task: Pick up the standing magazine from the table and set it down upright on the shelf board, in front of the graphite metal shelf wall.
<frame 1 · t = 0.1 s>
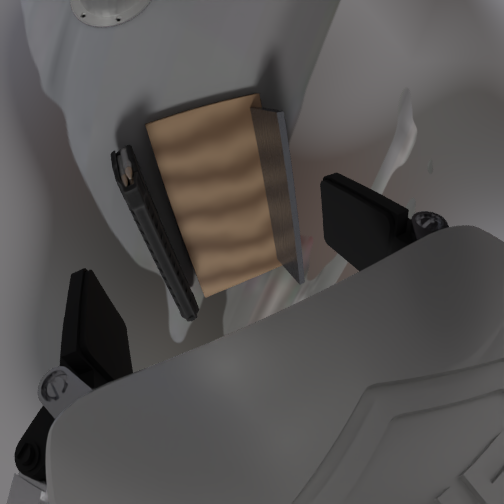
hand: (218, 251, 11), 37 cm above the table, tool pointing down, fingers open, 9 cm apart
shelf board: (225, 201, 51), on the table
magazine: (154, 228, 48), on the table
shelf wall: (264, 188, 53), resting on shelf board
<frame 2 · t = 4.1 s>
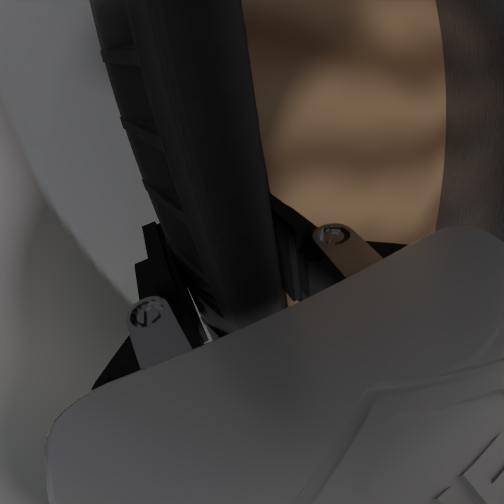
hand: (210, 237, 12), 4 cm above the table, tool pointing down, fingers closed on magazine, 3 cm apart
shelf board: (375, 142, 18), on the table
magazine: (189, 205, 16), on the table, touching gripper
shelf wall: (434, 129, 20), resting on shelf board
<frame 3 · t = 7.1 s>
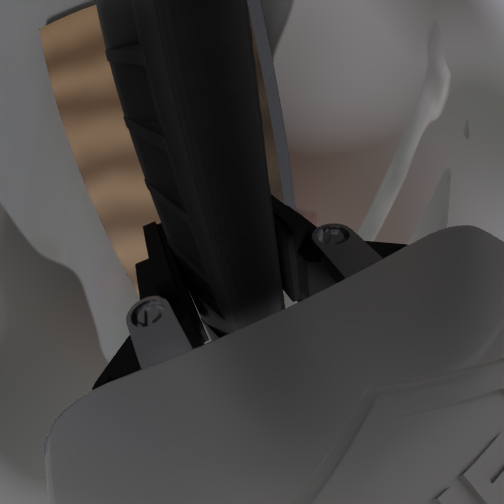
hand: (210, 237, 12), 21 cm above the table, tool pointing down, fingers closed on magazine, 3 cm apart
shelf board: (166, 145, 28), on the table
magazine: (189, 206, 16), point 16 cm above the table, touching gripper
shelf wall: (233, 124, 30), resting on shelf board
when the fingers open (7 cm above the table, at t = 10.2 s): magazine stays where it is, resting on shelf board.
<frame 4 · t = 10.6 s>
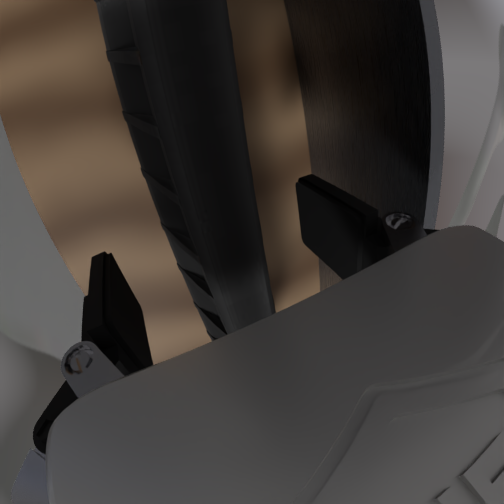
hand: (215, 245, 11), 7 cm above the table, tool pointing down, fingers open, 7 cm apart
shelf board: (195, 181, 17), on the table
magazine: (184, 199, 16), point 1 cm above the table, touching shelf board
shelf wall: (303, 147, 19), resting on shelf board
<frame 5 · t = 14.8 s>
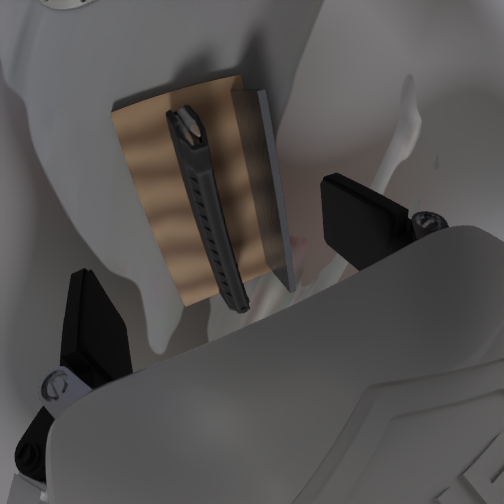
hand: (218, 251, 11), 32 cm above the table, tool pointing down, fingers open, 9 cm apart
shelf board: (204, 198, 44), on the table
magazine: (201, 206, 43), point 1 cm above the table, touching shelf board
shelf wall: (249, 183, 46), resting on shelf board
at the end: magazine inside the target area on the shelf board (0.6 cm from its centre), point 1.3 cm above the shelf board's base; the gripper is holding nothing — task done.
